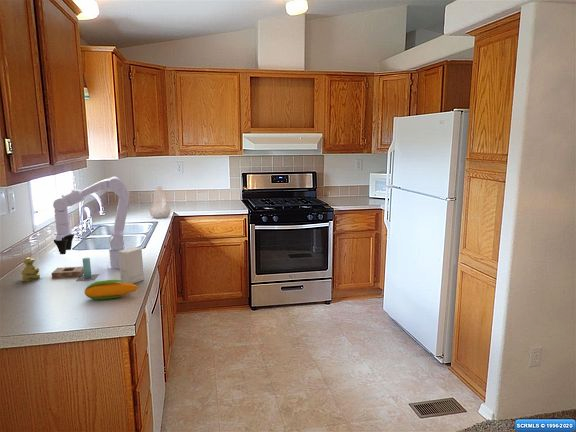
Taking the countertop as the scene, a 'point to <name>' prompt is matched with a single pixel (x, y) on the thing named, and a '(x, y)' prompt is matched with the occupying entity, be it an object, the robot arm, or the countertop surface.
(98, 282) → the corn
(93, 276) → the mat
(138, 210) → the countertop surface
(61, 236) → the robot arm
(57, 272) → the hole block
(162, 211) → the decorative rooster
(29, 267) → the olive yellow figurine
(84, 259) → the peg
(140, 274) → the skincare box
